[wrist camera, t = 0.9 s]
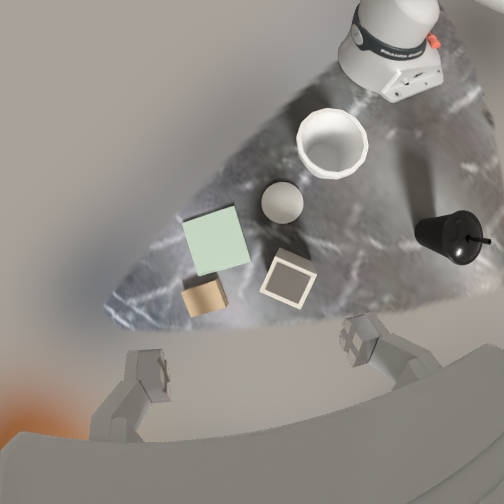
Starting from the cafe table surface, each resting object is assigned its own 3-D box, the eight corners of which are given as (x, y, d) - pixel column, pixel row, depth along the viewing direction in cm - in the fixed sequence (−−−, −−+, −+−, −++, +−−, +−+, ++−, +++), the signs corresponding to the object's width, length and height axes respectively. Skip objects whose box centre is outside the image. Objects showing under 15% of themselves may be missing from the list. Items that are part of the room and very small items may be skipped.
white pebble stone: (296, 177, 48) (296, 176, 47) (308, 217, 49) (308, 216, 48) (257, 189, 50) (256, 189, 48) (269, 228, 50) (268, 228, 49)
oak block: (219, 277, 52) (215, 280, 50) (228, 303, 53) (225, 307, 50) (185, 289, 54) (180, 292, 51) (195, 313, 54) (191, 317, 51)
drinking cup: (439, 256, 45) (503, 275, 26) (405, 251, 46) (462, 270, 27) (444, 215, 44) (511, 215, 25) (410, 208, 45) (470, 204, 26)
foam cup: (286, 152, 48) (282, 129, 35) (329, 125, 46) (339, 96, 33) (316, 197, 48) (324, 190, 35) (360, 170, 46) (381, 154, 33)
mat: (234, 205, 50) (234, 205, 49) (251, 261, 51) (251, 261, 50) (183, 223, 52) (182, 223, 51) (199, 275, 52) (198, 276, 52)
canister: (311, 261, 49) (317, 274, 37) (299, 288, 50) (300, 309, 38) (279, 247, 50) (275, 256, 38) (267, 274, 51) (259, 291, 39)
